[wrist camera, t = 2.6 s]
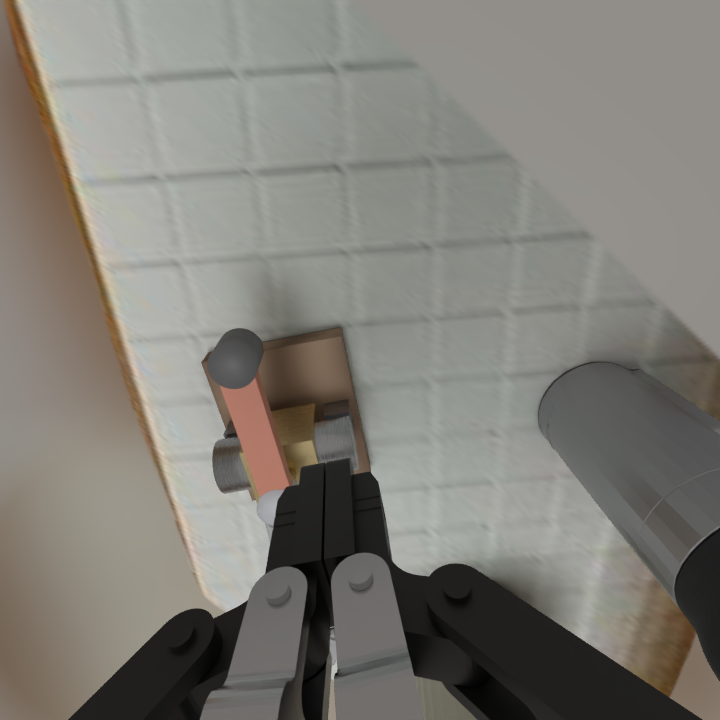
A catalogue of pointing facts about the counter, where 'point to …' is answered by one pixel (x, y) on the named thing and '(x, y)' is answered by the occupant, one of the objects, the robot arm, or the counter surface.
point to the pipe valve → (290, 444)
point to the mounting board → (304, 379)
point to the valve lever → (251, 415)
